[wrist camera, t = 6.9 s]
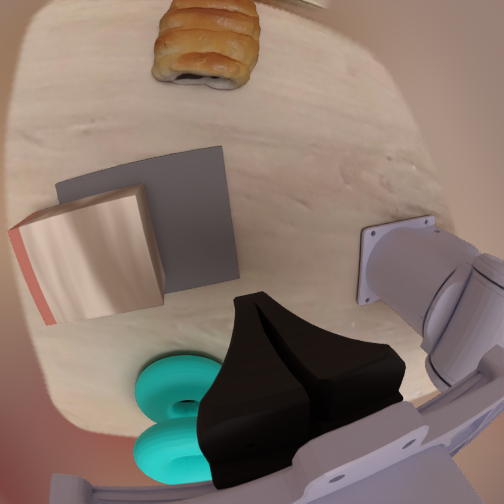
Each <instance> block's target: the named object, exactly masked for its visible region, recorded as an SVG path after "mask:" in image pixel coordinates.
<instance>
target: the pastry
mask: <svg viewBox="0 0 504 504" xmlns="http://www.w3.org/2000/svg"><path fill="white" fill-rule="evenodd" d="M159 27H160V32H159V37H158V38H157V40H156V42H155V45H154V54H155V60H154V66H153V68H152V74H153V76H154V77H155V78H156V79H157V80H159V81H172V82H173V83H175V84H183V85H189V84H195V85H196V84H207V85H209V86H210V87H213V88H216V89H226V90H229V89H234V88H238V87H240V86H242V85H244V84H245V83H246V82H247V81H248V80H249V79H250V73H251V71H252V69H253V68H254V67H255V65H256V63H257V60H258V56H259V54H258V52H259V36H260V31H261V28H260V26H259V15H258V14H257V12H256V5H255V4H254V2H253V0H173V1H172V3H171V6H170V8H169V10H168V11H167V12H166V13H165V14H164V16H163V17H162V18H161V20H160V24H159Z"/></svg>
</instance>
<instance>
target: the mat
mask: <svg viewBox="0 0 504 504" xmlns="http://www.w3.org/2000/svg"><path fill="white" fill-rule="evenodd" d="M142 183H144V188H145V193H146V198H147V202H148V207H149V212H150V216H151V221H152V225H153V230H154V234H155V238H156V242H157V247H158V251H159V255H160V259H161V262H162V266H163V270H164V274H165V288H164V294H166V293H171V292H176V291H181V290H186V289H191V288H196V287H201V286H206V285H211V284H216V283H220V282H225V281H230V280H235V279H239V278H240V276H239V269H238V262H237V255H236V248H235V241H234V234H233V226H232V219H231V212H230V205H229V197H228V190H227V182H226V175H225V167H224V159H223V152H222V146H217V147H210V148H204V149H198V150H192V151H186V152H181V153H175V154H170V155H165V156H160V157H155V158H151V159H146V160H142V161H137V162H133V163H129V164H125V165H121V166H117V167H113V168H109V169H105V170H101V171H97V172H94V173H90V174H87V175H83V176H80V177H76V178H73V179H70V180H67V181H63V182H60V183H57V184H55V186H56V191H57V195H58V199H59V203H60V205H61V204H64V203H68V202H71V201H74V200H78V199H82V198H85V197H89V196H93V195H96V194H100V193H104V192H108V191H112V190H116V189H120V188H124V187H128V186H133V185H137V184H142Z"/></svg>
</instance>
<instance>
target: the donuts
mask: <svg viewBox="0 0 504 504" xmlns="http://www.w3.org/2000/svg"><path fill="white" fill-rule="evenodd" d="M221 367H222V365H221V364H219V363H217V362H215V361H213V360H211V359H208V358H204V357H200V356H193V355H179V356H171V357H167V358H164V359H161V360H158V361H156V362H154V363H152V364H151V365H149V366H148V367H147V368H146V369H145V370H144V371H143V372H142V373H141V374H140V376H139V377H138V379H137V382H136V385H135V398H136V401H137V404H138V406H139V407H140V409H141V411H142V412H143V413H144V414H145V415H146V416H147V417H148V418H150V419H151V420H152V421H154V422H156V423H157V424H155V425H153V426H151V427H149V428H148V429H146V430H145V431H144V432H143V433H142V434H141V435H140V436H139V437H138V439H137V440H136V442H135V445H134V450H133V454H134V459H135V462H136V464H137V465H138V467H139V468H140V469H141V470H142V471H143V472H144V473H145V474H147V475H148V476H149V477H151V478H152V479H155V480H157V481H159V482H162V483H166V484H169V485H173V484H184V483H193V482H201V481H208V480H212V476H211V471H210V466H209V463H208V462H207V460H206V458H205V457H204V455H203V454H202V452H201V450H200V448H199V445H198V439H197V433H196V423H197V415H198V409H199V404H200V401H201V399H202V398H203V397H204V395H205V394H206V392H207V391H208V390H209V388H210V387H211V385H212V384H213V382H214V380H215V378H216V376H217V375H218V373H219V371H220V369H221ZM183 400H195V401H193V402H179V401H183Z"/></svg>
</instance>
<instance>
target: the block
mask: <svg viewBox="0 0 504 504" xmlns="http://www.w3.org/2000/svg"><path fill="white" fill-rule="evenodd" d="M8 234H9V237H10V240H11V243H12V246H13V249H14V252H15V255H16V257H17V260H18V263H19V265H20V268H21V271H22V273H23V276H24V278H25V281H26V283H27V285H28V288H29V290H30V292H31V295H32V297H33V299H34V301H35V303H36V305H37V308H38V310H39V312H40V314H41V316H42V318H43V320H44V322H45V324H46V325H52V324H59V323H65V322H71V321H78V320H84V319H90V318H96V317H101V316H107V315H113V314H119V313H124V312H130V311H135V310H140V309H146V308H151V307H156V306H162V305H164V288H165V274H164V270H163V266H162V262H161V259H160V255H159V251H158V247H157V242H156V238H155V234H154V230H153V225H152V221H151V216H150V212H149V207H148V202H147V198H146V193H145V188H144V183H142V184H137V185H133V186H128V187H124V188H120V189H116V190H112V191H108V192H104V193H100V194H96V195H93V196H89V197H85V198H82V199H78V200H74V201H71V202H68V203H64V204H61V205H57V206H54V207H51V208H48V209H45V210H41V211H38V212H35V213H33V214H31V215H30V216H28V217H27V218H25V219H24V220H22V221H21V222H20V223H18V224H17V225H15V226H14V227H13V228H11V229H10V230H9V231H8Z"/></svg>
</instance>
